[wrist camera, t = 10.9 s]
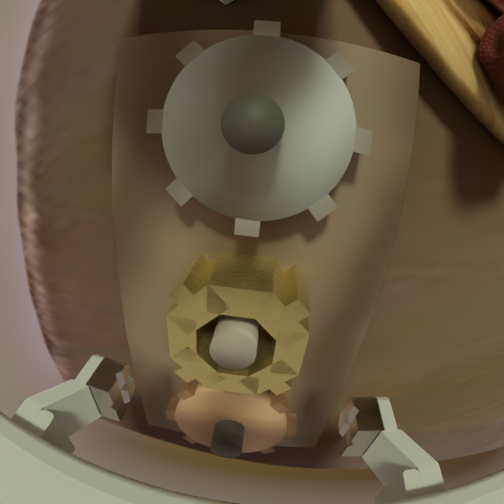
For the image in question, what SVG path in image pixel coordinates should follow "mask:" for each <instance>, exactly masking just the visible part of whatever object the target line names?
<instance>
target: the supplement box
mask: <svg viewBox="0 0 504 504" xmlns="http://www.w3.org/2000/svg"><path fill="white" fill-rule="evenodd" d="M220 1H221V2H222V3H224V4H225V5H227V4H229V3H231V2H232V1H234V0H220Z"/></svg>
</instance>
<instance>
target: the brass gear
mask: <svg viewBox="0 0 504 504" xmlns="http://www.w3.org/2000/svg"><path fill="white" fill-rule="evenodd" d="M168 296H169V297H170V298H171V299H172V300H173V301H174V302H173V304H172V306H171V308H170V309H169V311H168V313H167V315H166V316H167V329H168V341H169V351H170V358H172V359H173V360H174V361H175V362H176V363H177V366H176V369H175V371H174V372H175V373H176V374H177V375H179V376H180V377H181V378H182V379H183V380H185V381H186V382H187V383H188V382H190V381H192V380H194V379H196V380H197V381H199V382H200V383H201V384H202V385H204V386H205V387H206V388H210V389H216V390H222V391H229V392H236V393H244V394H252V395H258V394H260V393H262V392H264V391H267V390H269V389H270V390H271V391H272V392H273V393H274V394H276V395H279V394H281V393H283V392H285V391H287V390H289V389H292V378H294V377H296V376H298V375H299V372H300V368H301V364H302V361H303V357H304V353H305V350H306V346H307V342H308V338H309V334H310V332H309V324H308V316H309V315H311V310H310V303H309V297H308V290H307V284H306V278H305V276H304V275H303V273H302V272H301V271H300V270H299V269H298V267H297V266H296V265H295V264H293V265H292V266H290V267H289V268H287V269H286V270H285V271H284V270H283V268H282V267H281V266H280V265H279V264H278V262H277V261H276V260H275V259H274V258H265V257H257V256H248V255H240V254H232V253H224V252H222V253H221V254H219V255H218V256H217V257H215V258H214V259H213V260H212V261H209V260H208V259H207V258H206V256H205V255H204V254H203V253H201V254H199V255H198V256H197V257H196V258H194V259H193V260H192V261H191V262H190V263H189V264H188V265H187V267H186V269H185V270H184V272H183V273H182V275H181V276H180V278H179V279H178V281H177V283H176V284H175V286H174V287H173V289H172V291H171V292H170V294H169V295H168ZM220 314H221V315H228V316H235V317H243V318H251V319H256V320H257V322H258V323H259V324H260V325H261V326H262V327H263V328H264V329H263V330H262V331H260V332H259V335H258V344H257V353H256V359H255V361H254V362H253V363H252V364H251V365H250V366H249V367H247V368H244V369H238V370H233V369H228V368H224V367H222V366H220V365H219V364H217V363H216V362H215V361H214V360H213V359H212V357H211V355H210V351H209V349H210V345H211V341H212V338H213V335H214V332H215V328H216V325H217V321H216V320H215V319H214V318H215V317H217V316H218V315H220Z"/></svg>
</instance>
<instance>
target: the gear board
mask: <svg viewBox="0 0 504 504" xmlns="http://www.w3.org/2000/svg"><path fill="white" fill-rule="evenodd" d="M419 78H420V63H417V62H414V61H411V60H408V59H405V58H402V57H399V56H396V55H392V54H389V53H386V52H382V51H378V50H375V49H371V48H367V47H363V46H359V45H354V44H350V43H345V42H340V41H335V40H330V39H324V38H318V37H312V36H305V35H298V34H289V33H281V22H275V21H262V20H255V21H254V30H190V31H175V32H164V33H154V34H146V35H139V36H132V37H126V38H122V43H121V50H120V57H119V64H118V72H117V81H116V91H115V102H114V116H113V135H112V205H113V225H114V239H115V251H116V262H117V271H118V280H119V288H120V295H121V302H122V309H123V315H124V321H125V327H126V333H127V338H128V343H129V348H130V353H131V358H132V363H133V367H134V372H135V376H136V380H137V385H138V389H139V393H140V396H141V400H142V404H143V408H144V411H145V415H146V418H147V422H148V424H149V425H153V426H157V427H161V428H165V429H169V430H173V431H178V432H182V433H184V434H183V437H182V438H183V439H185V440H186V441H188V442H190V443H191V444H194V443H197V442H198V443H200V444H202V445H205V446H207V447H210V450H211V452H212V453H214V454H216V455H218V456H221V457H226V458H235V457H238V456H240V455H241V453H249V452H257V451H260V452H261V453H263V454H268V453H271V452H274V451H275V447H276V446H285V447H309V448H315V446H316V444H317V442H318V440H319V438H320V436H321V435H322V433H323V431H324V429H325V427H326V425H327V423H328V421H329V419H330V417H331V414H332V412H333V410H334V408H335V406H336V404H337V402H338V400H339V397H340V395H341V393H342V391H343V389H344V386H345V384H346V382H347V379H348V377H349V375H350V372H351V370H352V367H353V365H354V363H355V360H356V358H357V355H358V353H359V350H360V347H361V345H362V342H363V340H364V337H365V334H366V331H367V329H368V326H369V323H370V320H371V317H372V314H373V311H374V308H375V305H376V302H377V299H378V296H379V293H380V290H381V287H382V283H383V280H384V277H385V273H386V270H387V266H388V263H389V259H390V256H391V252H392V248H393V244H394V240H395V236H396V232H397V228H398V224H399V219H400V215H401V210H402V206H403V201H404V196H405V191H406V186H407V180H408V175H409V169H410V163H411V156H412V149H413V142H414V135H415V126H416V117H417V107H418V94H419ZM222 252H224V253H232V254H240V255H248V256H257V257H265V258H274V259H275V260H276V261H277V262H278V264H279V265H280V266H281V267H282V268H283V270H284V271H285V270H286V269H287V268H289V267H290V266H292V265H293V264H295V265H296V266H297V267H298V269H299V270H300V271H301V272H302V273H303V275H304V276H305V278H306V284H307V290H308V297H309V303H310V310H311V315H309V316H308V324H309V332H310V334H309V338H308V342H307V346H306V350H305V353H304V357H303V361H302V364H301V368H300V372H299V375H298V376H296V377H294V378H292V389H289V390H287V391H285V392H283V393H281V394H279V395H276V394H274V393H273V392H272V391H271V390H270V389H269V390H267V391H264V392H262V393H260V394H258V395H252V394H244V393H236V392H229V391H222V390H216V389H210V388H206V387H205V386H204V385H202V384H201V383H200V382H199V381H197V380H196V379H194V380H192V381H190V382H188V383H187V382H186V381H185V380H183V379H182V378H181V377H180V376H179V375H177V374H176V373H175V372H174V371H175V369H176V366H177V363H176V362H175V361H174V360H173V359H172V358H170V351H169V341H168V329H167V316H166V315H167V313H168V311H169V309H170V308H171V306H172V304H173V302H174V301H173V300H172V299H171V298H170V297H169V296H168V295H169V294H170V292H171V291H172V289H173V287H174V286H175V284H176V283H177V281H178V279H179V278H180V276H181V275H182V273H183V272H184V270H185V269H186V267H187V265H188V264H189V263H190V262H191V261H192V260H193V259H194V258H196V257H197V256H198V255H199V254H201V253H203V254H204V255H205V256H206V258H207V259H208V260H209V261H212V260H213V259H214V258H215V257H217V256H218V255H219V254H221V253H222ZM214 319H215V320H216V321H217V325H216V328H215V332H214V335H213V338H212V341H211V345H210V349H209V351H210V355H211V357H212V359H213V360H214V361H215V362H216V363H217V364H219V365H220V366H222V367H224V368H228V369H233V370H238V369H244V368H247V367H249V366H250V365H251V364H252V363H253V362H254V361H255V359H256V353H257V344H258V335H259V332H260V331H262V330H263V329H264V328H263V327H262V326H261V325H260V324H259V323H258V322H257V320H256V319H251V318H243V317H235V316H228V315H221V314H220V315H218V316H217V317H215V318H214Z"/></svg>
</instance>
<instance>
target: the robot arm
mask: <svg viewBox="0 0 504 504" xmlns="http://www.w3.org/2000/svg"><path fill="white" fill-rule="evenodd" d="M131 372H132V371H131V367H130V365H128V364H125V363H122V362H119V361H115V360H112V359H109V358H106V357H103V356H100V355H97V354H95V355H93V356H92V357H91V358H90V359H89V361H88V362H87V363H86V365H85V366H84V368H83V369H82V370H81V372H80V373H79V374H78V376H77V377H76V379H75V380H72V379H71V380H69V381H66V382H64V383H62V384H59V385H57V386H55V387H52V388H50V389H48V390H45V391H43V392H41V393H38V394H36V395H33V396H31V397H28V398H27V399H26V400H25V401H24V402H23V404H22V405H21V406H20V408H19V409H18V410H17V412H16V413H15V414H14V416H13V417H12V419H10V418H9V417H7V416H6V415H4V414H3V413H2V412H0V504H238V503H231V502H224V501H218V500H212V499H207V498H202V497H197V496H192V495H187V494H183V493H179V492H175V491H171V490H168V489H164V488H160V487H157V486H153V485H150V484H147V483H144V482H141V481H137V480H134V479H132V478H128V477H126V476H123V475H120V474H117V473H115V472H112V471H109V470H107V469H105V468H102V467H100V466H98V465H95V464H93V463H91V462H88V461H86V460H84V459H82V458H79V457H77V456H75V455H73V452H74V450H75V448H74V445H73V444H72V442H71V441H70V439H69V438H68V437H70V436H71V435H73V434H74V433H76V432H78V431H79V430H81V429H82V428H84V427H85V426H87V425H89V424H90V423H91V422H93V421H95V420H96V419H98V418H99V417H101V415H102V416H105V417H108V418H111V419H114V420H117V421H120V420H121V418H122V416H123V414H124V412H125V410H126V407H125V404H126V403H127V402H129V401H131V399H132V397H133V394H134V389H135V383H134V379H133V378H132V377H131V376H130V374H131ZM346 407H347V408H345V409H344V410H342V412H341V414H340V417H339V423H338V429H339V433H340V435H341V436H342V437H343V438H342V439H341V441H340V449H341V456H362V458H363V459H364V460H365V462H366V463H367V464H368V466H369V467H370V468H371V469H372V471H373V472H374V473H375V475H376V476H377V477H378V479H379V480H380V481H381V482H382V484H383V485H384V486H385V489H384V490H383V491H382V492H381V493H379V494H378V495H377V496H376V497H375V504H504V469H503V470H500V471H498V472H496V473H493V474H490V475H488V476H485V477H483V478H480V479H477V480H474V481H471V482H468V483H465V484H463V485H459V486H456V487H453V488H449V489H446V490H445V486H444V482H443V478H442V475H441V471H440V467H439V464H438V463H437V462H436V461H435V460H434V459H433V458H432V457H431V456H430V455H429V454H427V453H426V452H425V451H424V450H423V449H422V448H421V447H420V446H419V445H417V444H416V443H415V442H414V441H413V440H412V439H411V438H410V437H409V436H408V435H406V434H405V433H404V432H403V431H402V430H398V429H397V425H396V421H395V418H394V414H393V411H392V407H391V404H390V400H389V398H388V397H350V398H349V399H348V400H347V402H346Z"/></svg>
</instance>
